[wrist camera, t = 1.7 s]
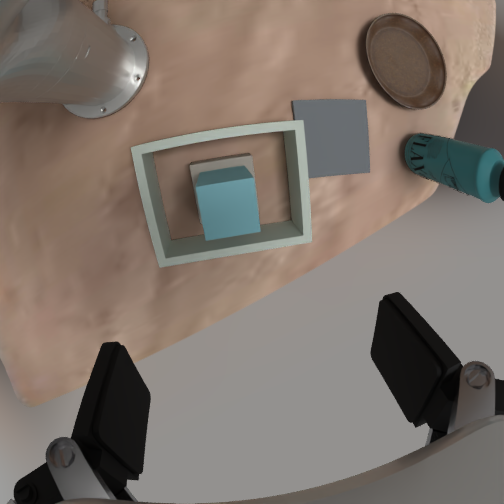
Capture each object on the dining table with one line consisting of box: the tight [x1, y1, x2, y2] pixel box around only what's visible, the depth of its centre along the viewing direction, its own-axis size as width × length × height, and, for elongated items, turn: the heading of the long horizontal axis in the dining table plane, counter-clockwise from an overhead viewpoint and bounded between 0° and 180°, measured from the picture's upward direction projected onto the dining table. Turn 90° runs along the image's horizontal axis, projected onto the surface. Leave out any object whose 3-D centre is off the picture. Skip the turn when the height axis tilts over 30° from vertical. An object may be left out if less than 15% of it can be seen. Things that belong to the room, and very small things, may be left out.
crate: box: [131, 120, 312, 268], centre depth 32 cm, size 14×18×6 cm
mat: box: [292, 99, 370, 178], centre depth 34 cm, size 10×10×1 cm
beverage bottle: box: [405, 133, 504, 203], centre depth 27 cm, size 6×7×20 cm
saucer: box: [366, 13, 447, 109], centre depth 29 cm, size 15×15×3 cm
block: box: [196, 165, 261, 241], centre depth 29 cm, size 5×5×8 cm
